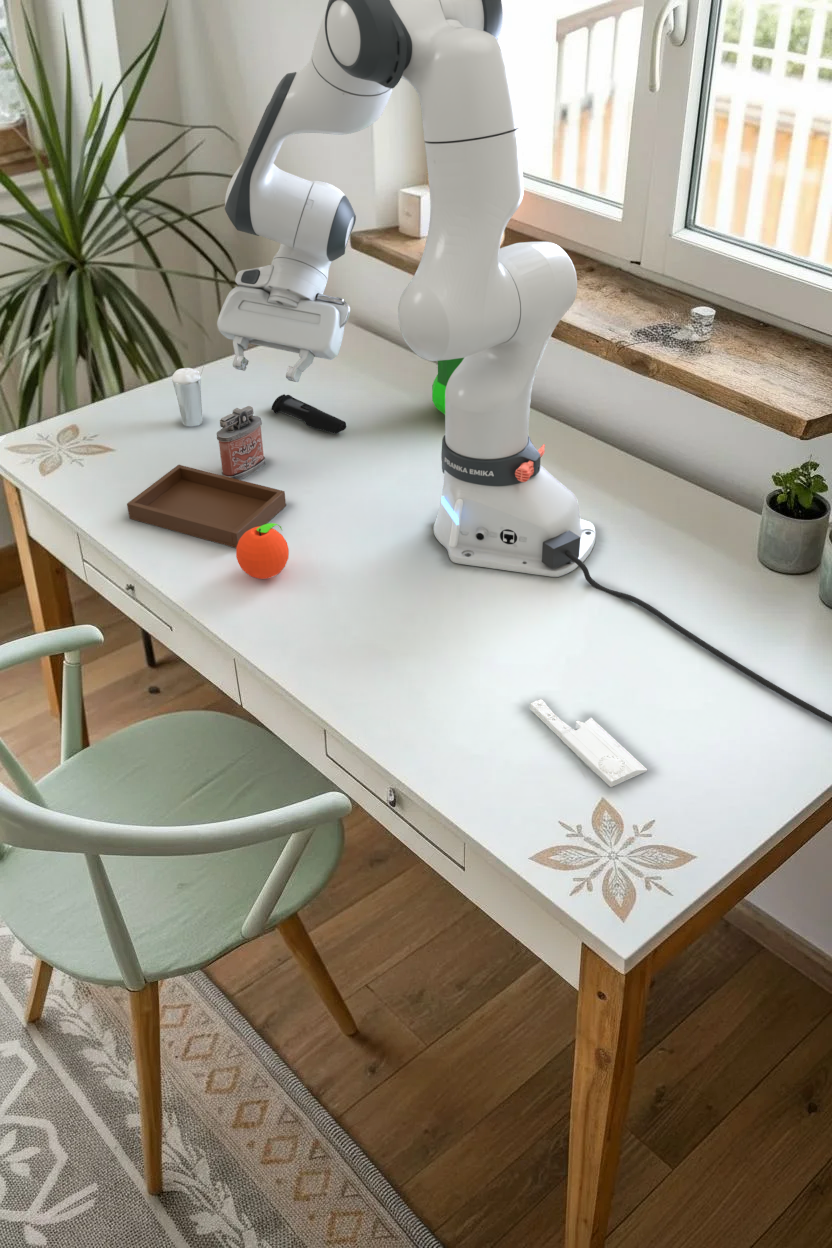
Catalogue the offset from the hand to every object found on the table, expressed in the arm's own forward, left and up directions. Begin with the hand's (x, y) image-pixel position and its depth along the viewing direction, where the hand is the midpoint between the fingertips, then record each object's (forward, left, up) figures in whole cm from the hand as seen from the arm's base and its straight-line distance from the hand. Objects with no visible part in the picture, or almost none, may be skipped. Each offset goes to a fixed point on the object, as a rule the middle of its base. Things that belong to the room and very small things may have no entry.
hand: (264, 374), depth 183 cm
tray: (-2, +20, -12) cm, 24 cm away
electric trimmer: (-1, -10, -13) cm, 16 cm away
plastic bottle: (-22, -23, -13) cm, 34 cm away
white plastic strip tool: (-68, +43, -12) cm, 81 cm away
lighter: (0, +8, -13) cm, 15 cm away
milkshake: (+16, -2, -13) cm, 21 cm away
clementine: (-18, +30, -13) cm, 37 cm away
